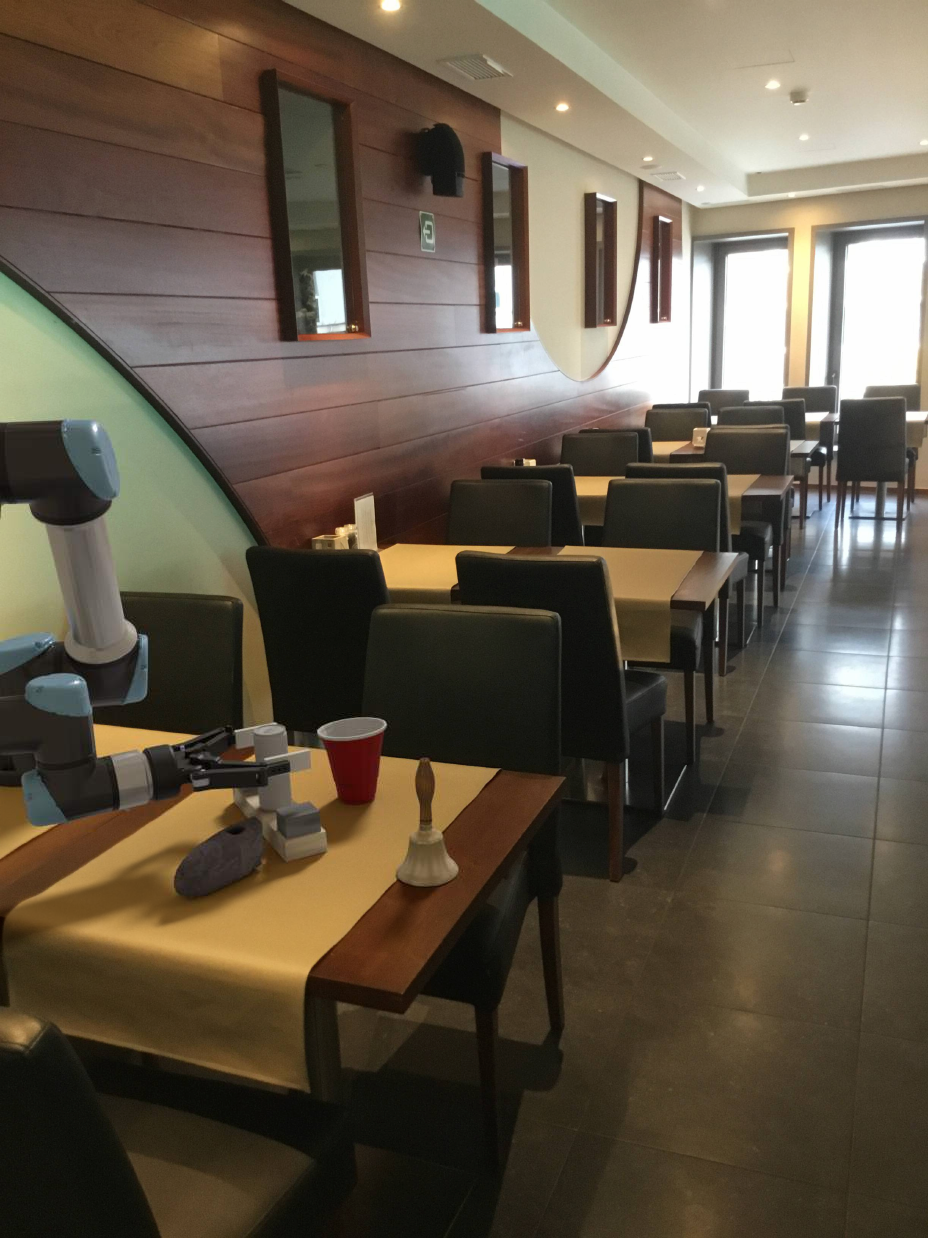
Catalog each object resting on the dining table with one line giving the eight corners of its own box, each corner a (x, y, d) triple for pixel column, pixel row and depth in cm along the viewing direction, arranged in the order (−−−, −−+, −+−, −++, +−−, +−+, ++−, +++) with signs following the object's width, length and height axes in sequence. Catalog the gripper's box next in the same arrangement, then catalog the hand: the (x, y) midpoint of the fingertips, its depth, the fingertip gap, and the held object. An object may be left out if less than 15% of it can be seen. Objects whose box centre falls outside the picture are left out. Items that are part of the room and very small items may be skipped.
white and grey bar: (233, 801, 158) (230, 766, 156) (270, 793, 161) (267, 758, 159) (286, 862, 137) (283, 821, 136) (327, 851, 140) (324, 811, 139)
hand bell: (435, 851, 139) (430, 743, 135) (471, 874, 133) (467, 760, 129) (384, 870, 134) (378, 758, 131) (419, 894, 128) (413, 777, 124)
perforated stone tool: (189, 913, 125) (183, 862, 124) (163, 901, 128) (157, 851, 127) (279, 866, 137) (275, 818, 135) (254, 855, 140) (250, 809, 138)
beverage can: (299, 802, 149) (293, 726, 146) (278, 815, 145) (272, 737, 142) (273, 797, 151) (266, 722, 149) (252, 809, 147) (245, 732, 145)
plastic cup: (361, 777, 166) (357, 708, 163) (404, 795, 158) (401, 723, 155) (307, 798, 158) (302, 726, 155) (350, 817, 151) (345, 742, 148)
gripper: (129, 772, 149) (266, 743, 159) (171, 835, 128) (326, 797, 138) (123, 724, 147) (263, 698, 157) (165, 780, 126) (322, 745, 136)
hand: (293, 744), depth 148 cm, fingers open, 13 cm apart
